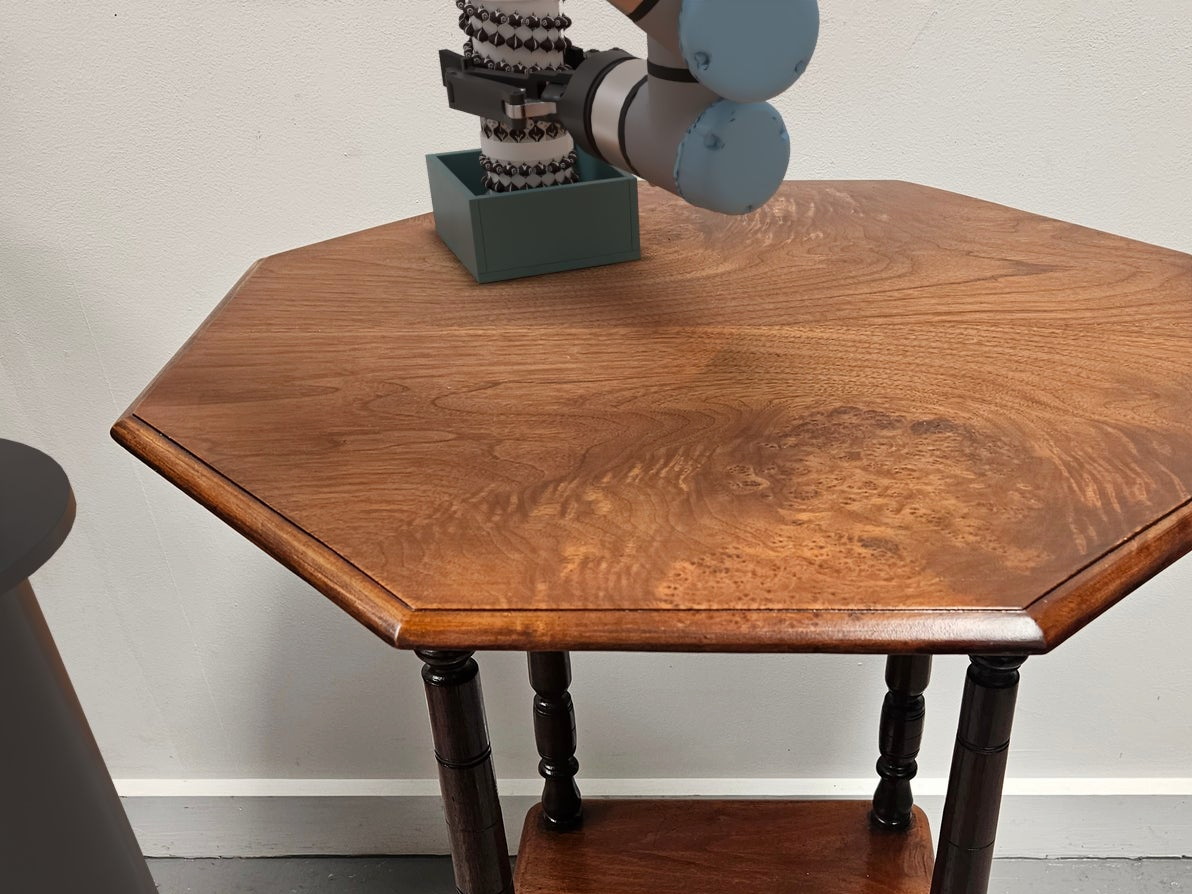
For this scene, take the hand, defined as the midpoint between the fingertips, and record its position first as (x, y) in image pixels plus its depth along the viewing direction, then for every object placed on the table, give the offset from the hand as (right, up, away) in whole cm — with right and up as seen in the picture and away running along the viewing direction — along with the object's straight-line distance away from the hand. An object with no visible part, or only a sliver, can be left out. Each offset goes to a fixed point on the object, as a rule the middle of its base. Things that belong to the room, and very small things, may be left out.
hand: (495, 60), depth 106 cm
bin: (+3, -14, +6) cm, 15 cm away
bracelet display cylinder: (+3, -13, +6) cm, 14 cm away
